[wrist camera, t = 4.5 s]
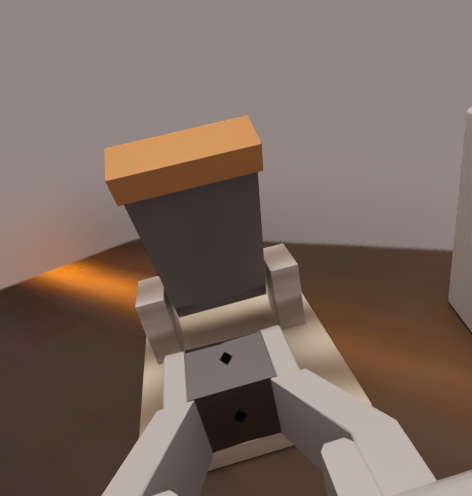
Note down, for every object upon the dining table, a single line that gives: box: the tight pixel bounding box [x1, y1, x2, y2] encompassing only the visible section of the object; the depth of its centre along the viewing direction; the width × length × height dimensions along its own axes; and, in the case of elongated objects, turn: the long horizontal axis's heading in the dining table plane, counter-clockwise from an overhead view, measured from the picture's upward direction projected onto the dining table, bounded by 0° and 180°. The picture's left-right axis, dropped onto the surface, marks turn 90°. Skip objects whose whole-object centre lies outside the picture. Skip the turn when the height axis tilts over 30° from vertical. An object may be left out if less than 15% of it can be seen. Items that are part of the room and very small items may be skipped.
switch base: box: [135, 244, 372, 471], centre depth 28 cm, size 20×14×7 cm
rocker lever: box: [105, 116, 267, 318], centre depth 23 cm, size 3×7×14 cm, turn 101°
